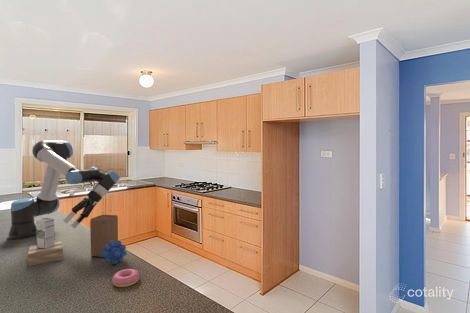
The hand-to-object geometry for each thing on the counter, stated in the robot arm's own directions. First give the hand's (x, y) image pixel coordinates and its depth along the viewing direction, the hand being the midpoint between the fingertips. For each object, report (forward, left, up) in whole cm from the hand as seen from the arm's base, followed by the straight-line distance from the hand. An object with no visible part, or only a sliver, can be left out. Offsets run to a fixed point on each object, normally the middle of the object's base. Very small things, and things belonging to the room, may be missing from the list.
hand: (68, 224), depth 146 cm
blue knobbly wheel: (+35, +10, -15) cm, 40 cm away
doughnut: (+55, +6, -15) cm, 57 cm away
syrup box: (0, -11, -10) cm, 14 cm away
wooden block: (+17, +12, -15) cm, 26 cm away
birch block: (0, -10, -16) cm, 19 cm away
